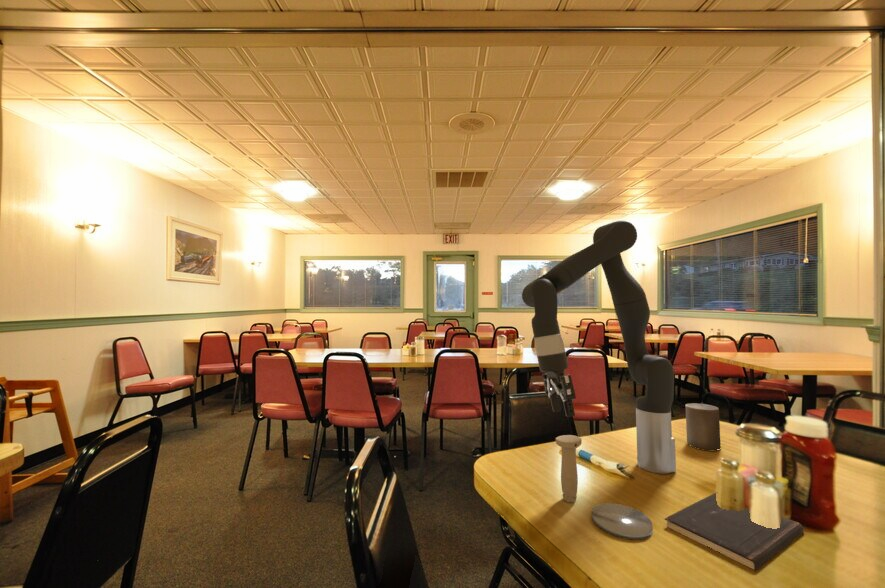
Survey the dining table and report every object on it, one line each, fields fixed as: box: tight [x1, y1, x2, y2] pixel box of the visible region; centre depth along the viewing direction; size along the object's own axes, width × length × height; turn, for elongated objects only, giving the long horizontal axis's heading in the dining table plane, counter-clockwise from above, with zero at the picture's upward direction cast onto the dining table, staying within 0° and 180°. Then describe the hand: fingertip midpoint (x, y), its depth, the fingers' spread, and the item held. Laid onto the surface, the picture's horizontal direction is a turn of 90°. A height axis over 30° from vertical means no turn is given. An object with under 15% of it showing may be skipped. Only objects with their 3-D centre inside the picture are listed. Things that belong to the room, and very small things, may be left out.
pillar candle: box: [684, 402, 722, 451], centre depth 127 cm, size 10×10×15 cm
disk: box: [591, 502, 654, 541], centre depth 81 cm, size 12×12×1 cm
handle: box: [555, 434, 583, 503], centre depth 91 cm, size 5×6×15 cm
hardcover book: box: [664, 492, 804, 572], centre depth 78 cm, size 16×23×2 cm
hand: (563, 413), depth 96 cm, fingers open, 8 cm apart
